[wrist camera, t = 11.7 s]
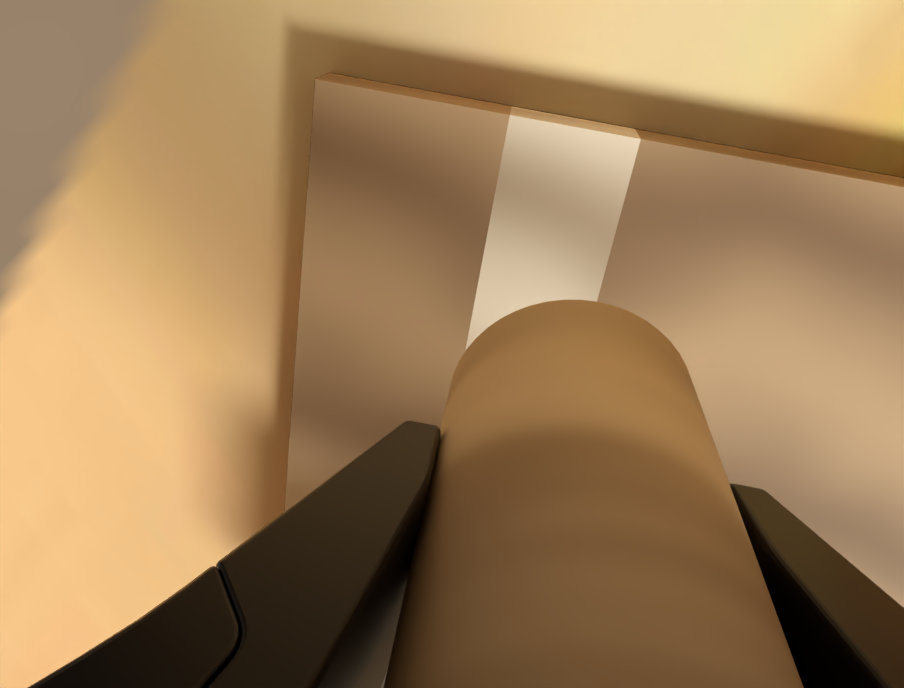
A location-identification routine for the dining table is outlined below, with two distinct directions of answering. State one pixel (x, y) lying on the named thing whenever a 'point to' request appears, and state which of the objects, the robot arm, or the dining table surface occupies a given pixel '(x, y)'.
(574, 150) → the board
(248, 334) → the dining table surface
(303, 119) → the dining table surface
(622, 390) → the tan small bottle
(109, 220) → the dining table surface
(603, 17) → the dining table surface
